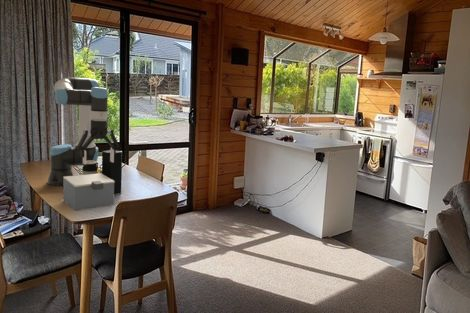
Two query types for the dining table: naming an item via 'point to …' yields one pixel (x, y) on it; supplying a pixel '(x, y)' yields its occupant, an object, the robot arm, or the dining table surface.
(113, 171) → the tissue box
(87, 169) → the travel mug
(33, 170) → the dining table surface
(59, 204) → the dining table surface
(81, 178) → the lid
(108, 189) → the carton
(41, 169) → the dining table surface
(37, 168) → the dining table surface
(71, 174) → the robot arm
